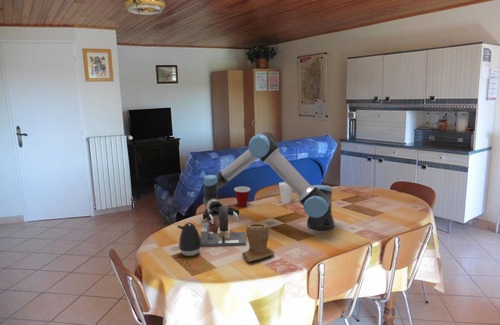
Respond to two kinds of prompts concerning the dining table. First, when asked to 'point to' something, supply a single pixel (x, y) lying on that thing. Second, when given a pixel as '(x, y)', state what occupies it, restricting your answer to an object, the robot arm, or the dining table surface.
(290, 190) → the foam cup
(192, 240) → the pump dispenser
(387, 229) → the dining table surface
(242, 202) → the plastic cup
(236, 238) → the gauge base
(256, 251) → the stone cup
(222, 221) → the gauge slider
